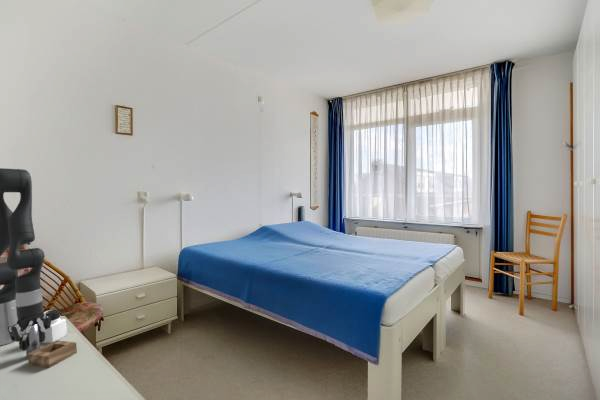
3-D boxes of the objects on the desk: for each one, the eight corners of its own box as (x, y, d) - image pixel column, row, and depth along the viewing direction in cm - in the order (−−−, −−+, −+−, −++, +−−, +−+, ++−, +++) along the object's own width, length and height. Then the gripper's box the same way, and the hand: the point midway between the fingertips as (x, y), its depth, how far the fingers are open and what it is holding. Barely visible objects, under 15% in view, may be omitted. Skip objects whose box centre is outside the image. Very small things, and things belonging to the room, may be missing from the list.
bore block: (28, 364, 110) (27, 353, 110) (57, 350, 119) (56, 340, 119) (49, 367, 107) (48, 356, 107) (76, 352, 117) (76, 342, 117)
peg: (23, 358, 114) (21, 326, 114) (35, 352, 118) (33, 322, 118) (31, 359, 113) (29, 327, 113) (43, 353, 117) (40, 322, 117)
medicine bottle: (67, 335, 133) (65, 307, 132) (52, 343, 125) (50, 314, 125) (52, 334, 133) (50, 307, 133) (36, 343, 126) (34, 314, 126)
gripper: (42, 294, 123) (45, 336, 124) (-1, 308, 109) (3, 355, 110) (56, 295, 121) (59, 337, 122) (14, 309, 107) (18, 357, 108)
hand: (32, 345), depth 116 cm, fingers open, 5 cm apart
